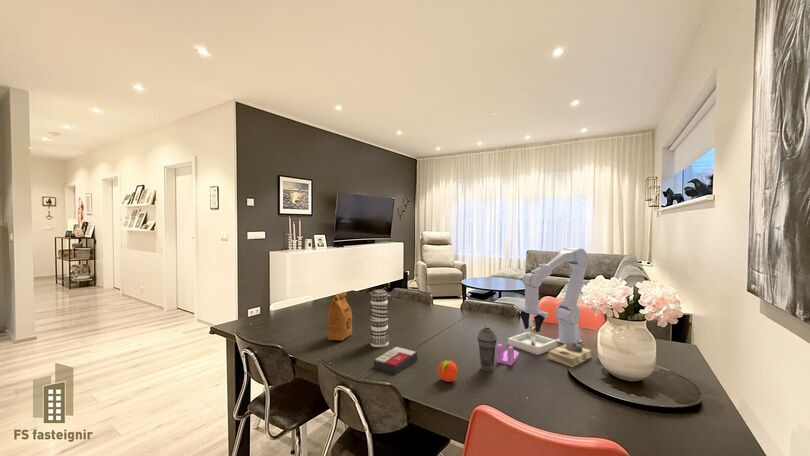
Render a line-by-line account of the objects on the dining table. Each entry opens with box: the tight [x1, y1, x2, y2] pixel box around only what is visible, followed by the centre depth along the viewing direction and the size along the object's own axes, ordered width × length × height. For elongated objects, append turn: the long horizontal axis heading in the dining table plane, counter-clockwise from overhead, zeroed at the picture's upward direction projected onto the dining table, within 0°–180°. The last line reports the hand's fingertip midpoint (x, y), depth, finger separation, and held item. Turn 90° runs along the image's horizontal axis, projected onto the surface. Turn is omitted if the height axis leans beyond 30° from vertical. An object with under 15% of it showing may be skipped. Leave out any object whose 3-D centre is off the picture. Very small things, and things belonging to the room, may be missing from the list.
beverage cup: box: [477, 315, 497, 372], centre depth 124 cm, size 7×7×20 cm
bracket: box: [496, 343, 520, 366], centre depth 133 cm, size 13×6×7 cm, turn 145°
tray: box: [507, 331, 558, 356], centre depth 147 cm, size 15×15×3 cm
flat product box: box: [373, 346, 418, 375], centre depth 130 cm, size 11×4×15 cm
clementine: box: [437, 359, 459, 383], centre depth 114 cm, size 8×7×7 cm
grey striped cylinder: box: [368, 289, 390, 348], centre depth 152 cm, size 9×9×25 cm
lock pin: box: [529, 325, 536, 346], centre depth 146 cm, size 3×3×8 cm
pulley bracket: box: [547, 342, 592, 368], centre depth 133 cm, size 15×10×6 cm, turn 126°
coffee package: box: [327, 291, 353, 342], centre depth 160 cm, size 10×12×22 cm
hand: (532, 330), depth 147 cm, fingers open, 5 cm apart
